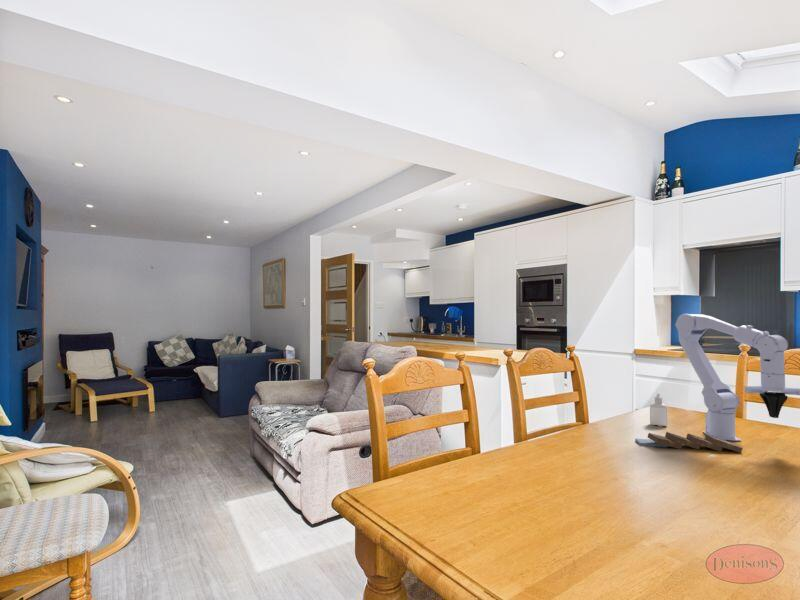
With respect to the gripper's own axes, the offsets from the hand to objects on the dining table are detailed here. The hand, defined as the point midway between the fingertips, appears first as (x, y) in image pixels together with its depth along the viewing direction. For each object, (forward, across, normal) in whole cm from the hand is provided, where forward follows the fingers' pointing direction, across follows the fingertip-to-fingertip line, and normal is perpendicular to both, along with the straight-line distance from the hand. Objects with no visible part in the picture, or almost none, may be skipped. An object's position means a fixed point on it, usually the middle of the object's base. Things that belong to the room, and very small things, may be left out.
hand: (773, 417), depth 134 cm
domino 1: (+10, -32, -3) cm, 33 cm away
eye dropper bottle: (+10, -25, +24) cm, 36 cm away
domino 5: (+10, -11, -3) cm, 15 cm away
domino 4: (+10, -17, -3) cm, 19 cm away
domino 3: (+9, -23, -3) cm, 25 cm away
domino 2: (+9, -28, -4) cm, 30 cm away
